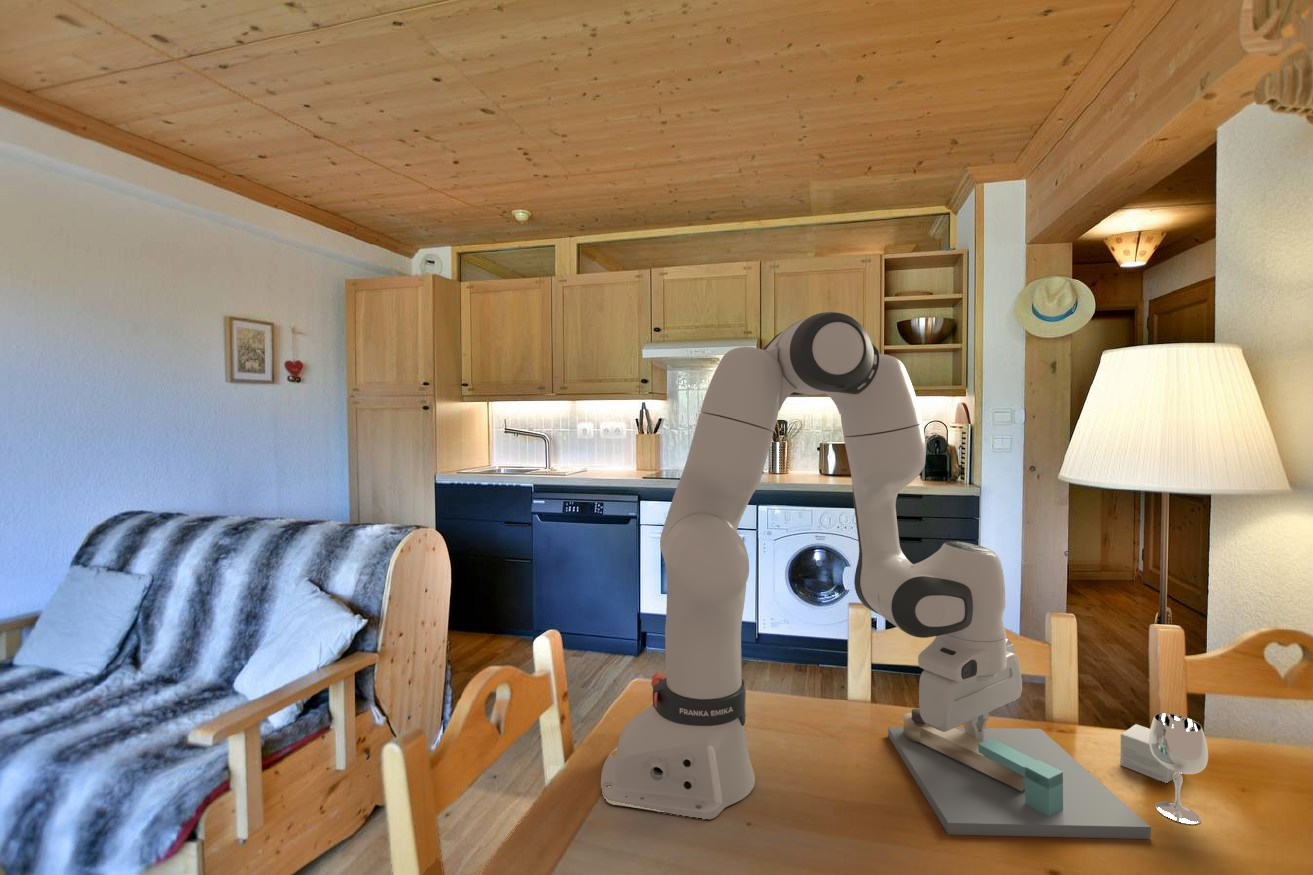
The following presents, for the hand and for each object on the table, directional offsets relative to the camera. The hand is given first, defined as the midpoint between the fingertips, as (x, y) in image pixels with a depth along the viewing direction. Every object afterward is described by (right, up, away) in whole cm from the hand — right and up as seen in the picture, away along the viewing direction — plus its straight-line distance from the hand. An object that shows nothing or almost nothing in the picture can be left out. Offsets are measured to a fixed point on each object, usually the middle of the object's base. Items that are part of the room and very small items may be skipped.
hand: (974, 740), depth 89 cm
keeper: (+1, -2, -10) cm, 10 cm away
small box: (+24, -3, -3) cm, 25 cm away
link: (-3, -1, -1) cm, 3 cm away
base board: (+1, -3, -5) cm, 6 cm away
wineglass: (+20, -3, -12) cm, 24 cm away
